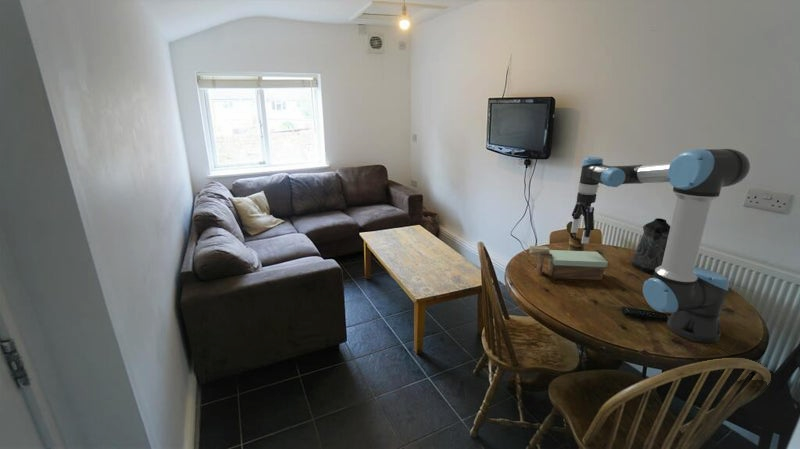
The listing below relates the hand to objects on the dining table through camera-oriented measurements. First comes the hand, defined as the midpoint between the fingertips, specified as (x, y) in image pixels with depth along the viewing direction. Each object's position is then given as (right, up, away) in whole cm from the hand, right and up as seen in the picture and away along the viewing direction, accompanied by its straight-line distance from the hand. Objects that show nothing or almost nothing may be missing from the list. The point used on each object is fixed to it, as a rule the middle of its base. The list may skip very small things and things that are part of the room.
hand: (579, 237), depth 173 cm
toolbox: (-3, -17, +6) cm, 19 cm away
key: (-17, -7, +4) cm, 19 cm away
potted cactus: (+8, -11, +24) cm, 28 cm away
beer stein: (+41, -16, +12) cm, 45 cm away
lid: (0, -11, +3) cm, 11 cm away
